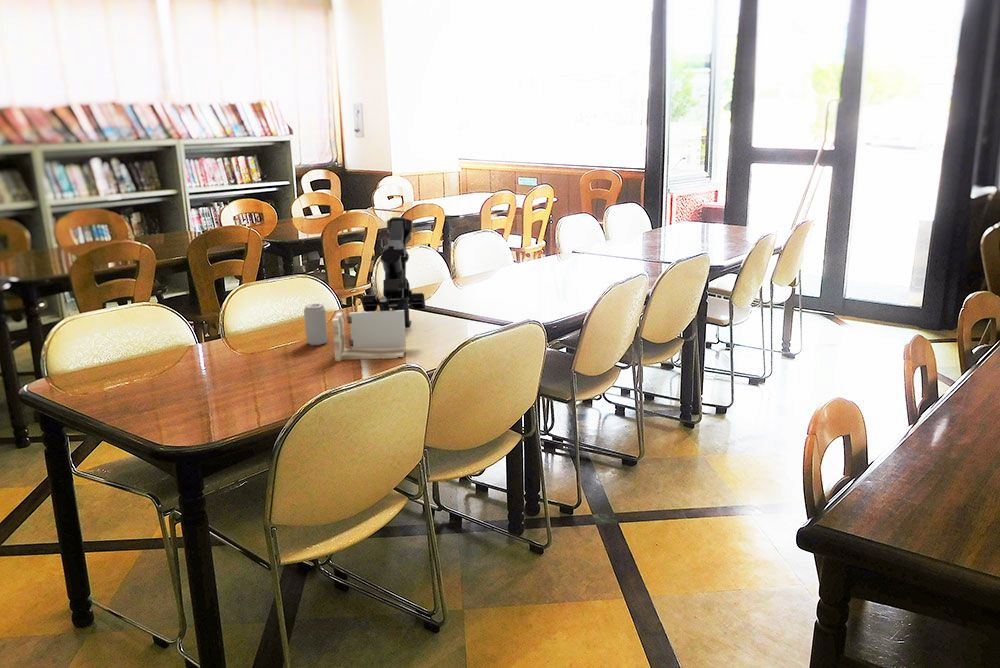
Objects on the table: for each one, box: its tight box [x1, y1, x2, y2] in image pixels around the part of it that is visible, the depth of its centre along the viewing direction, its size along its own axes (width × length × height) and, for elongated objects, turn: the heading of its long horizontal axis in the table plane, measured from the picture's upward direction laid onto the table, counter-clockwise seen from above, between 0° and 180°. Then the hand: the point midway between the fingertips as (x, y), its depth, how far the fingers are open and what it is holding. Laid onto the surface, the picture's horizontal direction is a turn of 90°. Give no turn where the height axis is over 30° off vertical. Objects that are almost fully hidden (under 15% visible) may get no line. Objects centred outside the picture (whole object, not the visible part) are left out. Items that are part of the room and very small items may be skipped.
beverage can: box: [303, 303, 329, 346], centre depth 246 cm, size 6×6×12 cm
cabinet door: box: [346, 310, 407, 348], centre depth 238 cm, size 2×17×11 cm, turn 97°
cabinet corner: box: [331, 311, 406, 362], centre depth 232 cm, size 10×19×12 cm, turn 92°
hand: (393, 326), depth 239 cm, fingers closed
